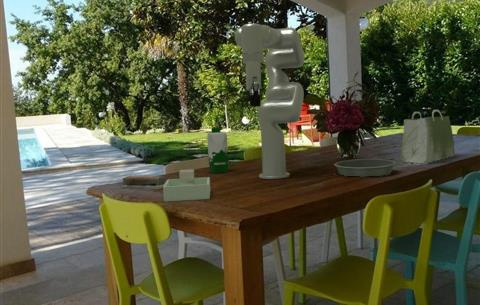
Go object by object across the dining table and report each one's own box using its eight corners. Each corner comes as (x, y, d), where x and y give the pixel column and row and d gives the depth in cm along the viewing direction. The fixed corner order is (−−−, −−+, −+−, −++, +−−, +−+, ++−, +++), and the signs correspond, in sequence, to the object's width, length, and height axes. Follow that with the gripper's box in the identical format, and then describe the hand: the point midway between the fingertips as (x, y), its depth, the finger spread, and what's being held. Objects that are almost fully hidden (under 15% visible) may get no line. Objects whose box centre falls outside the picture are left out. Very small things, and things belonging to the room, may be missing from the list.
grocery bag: (427, 154, 263) (427, 107, 260) (455, 156, 253) (455, 107, 251) (396, 163, 240) (395, 112, 237) (426, 165, 230) (425, 111, 228)
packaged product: (118, 177, 211) (132, 173, 220) (119, 189, 211) (133, 185, 221) (158, 178, 204) (170, 174, 214) (159, 190, 205) (171, 185, 214)
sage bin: (168, 192, 197) (167, 179, 196) (210, 190, 197) (209, 177, 196) (163, 201, 181) (162, 187, 180) (209, 198, 182) (208, 184, 181)
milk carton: (226, 169, 246) (224, 126, 244) (230, 172, 238) (228, 128, 235) (208, 171, 245) (205, 128, 242) (211, 174, 236) (208, 129, 233)
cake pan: (355, 167, 235) (355, 157, 235) (407, 171, 218) (407, 160, 217) (322, 175, 218) (322, 164, 218) (375, 180, 201) (375, 169, 200)
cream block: (181, 192, 191) (180, 170, 190) (195, 191, 192) (194, 169, 191) (180, 194, 186) (179, 172, 185) (194, 193, 187) (193, 171, 186)
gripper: (241, 60, 201) (243, 106, 203) (243, 57, 184) (246, 107, 186) (261, 59, 201) (263, 105, 203) (265, 56, 184) (267, 106, 186)
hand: (255, 106), depth 194 cm, fingers open, 9 cm apart
